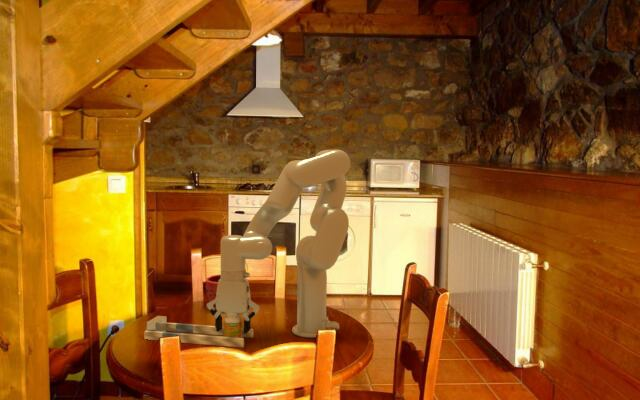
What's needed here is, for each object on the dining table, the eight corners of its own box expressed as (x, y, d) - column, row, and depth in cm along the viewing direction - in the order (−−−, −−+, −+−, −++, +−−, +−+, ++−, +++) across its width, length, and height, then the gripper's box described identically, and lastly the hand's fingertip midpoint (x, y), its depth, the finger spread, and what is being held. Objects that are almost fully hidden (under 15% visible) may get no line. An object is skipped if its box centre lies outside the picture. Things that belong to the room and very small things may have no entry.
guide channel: (253, 336, 163) (253, 321, 163) (242, 347, 154) (242, 331, 153) (160, 329, 169) (160, 314, 169) (144, 339, 160) (144, 323, 159)
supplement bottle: (228, 345, 156) (228, 313, 155) (221, 339, 160) (221, 309, 160) (244, 341, 159) (244, 310, 158) (237, 336, 163) (237, 306, 163)
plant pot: (206, 304, 200) (206, 274, 199) (240, 303, 202) (240, 273, 202) (205, 314, 187) (205, 281, 186) (241, 313, 190) (241, 280, 189)
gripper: (263, 274, 160) (263, 329, 161) (211, 271, 163) (211, 325, 165) (256, 279, 153) (256, 337, 154) (201, 276, 156) (201, 333, 157)
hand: (232, 331), depth 159 cm, fingers open, 8 cm apart
